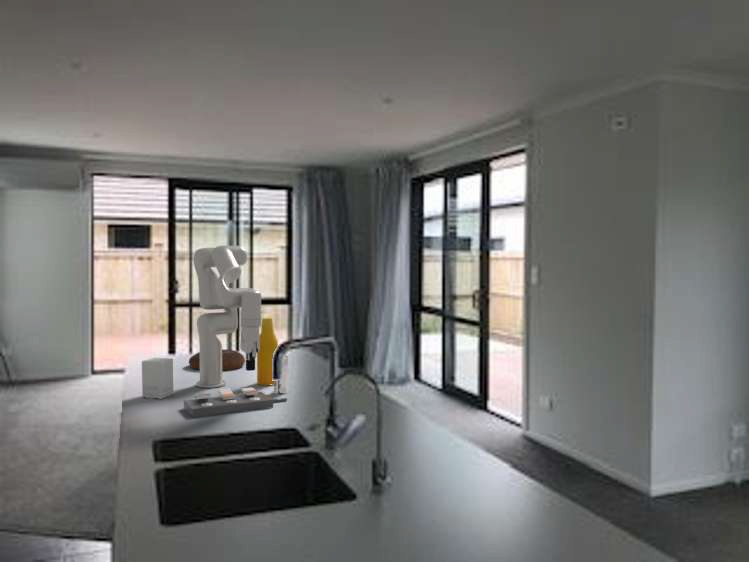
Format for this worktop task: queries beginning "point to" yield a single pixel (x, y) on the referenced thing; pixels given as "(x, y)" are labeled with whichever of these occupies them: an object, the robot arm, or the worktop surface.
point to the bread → (229, 360)
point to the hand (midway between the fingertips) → (250, 369)
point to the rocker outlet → (203, 396)
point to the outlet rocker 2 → (249, 391)
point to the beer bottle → (266, 352)
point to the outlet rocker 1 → (226, 394)
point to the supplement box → (157, 378)
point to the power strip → (228, 404)
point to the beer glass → (282, 378)
